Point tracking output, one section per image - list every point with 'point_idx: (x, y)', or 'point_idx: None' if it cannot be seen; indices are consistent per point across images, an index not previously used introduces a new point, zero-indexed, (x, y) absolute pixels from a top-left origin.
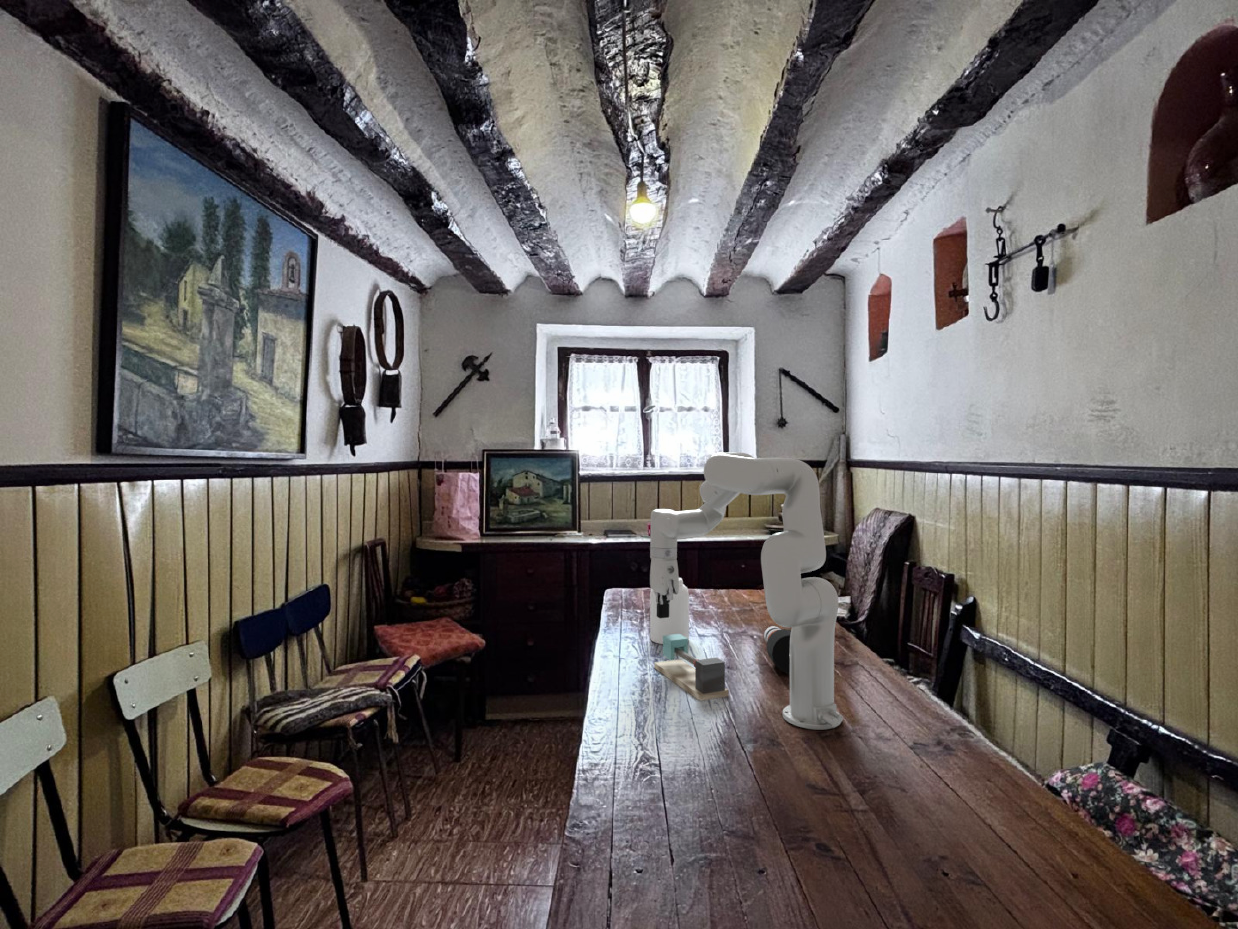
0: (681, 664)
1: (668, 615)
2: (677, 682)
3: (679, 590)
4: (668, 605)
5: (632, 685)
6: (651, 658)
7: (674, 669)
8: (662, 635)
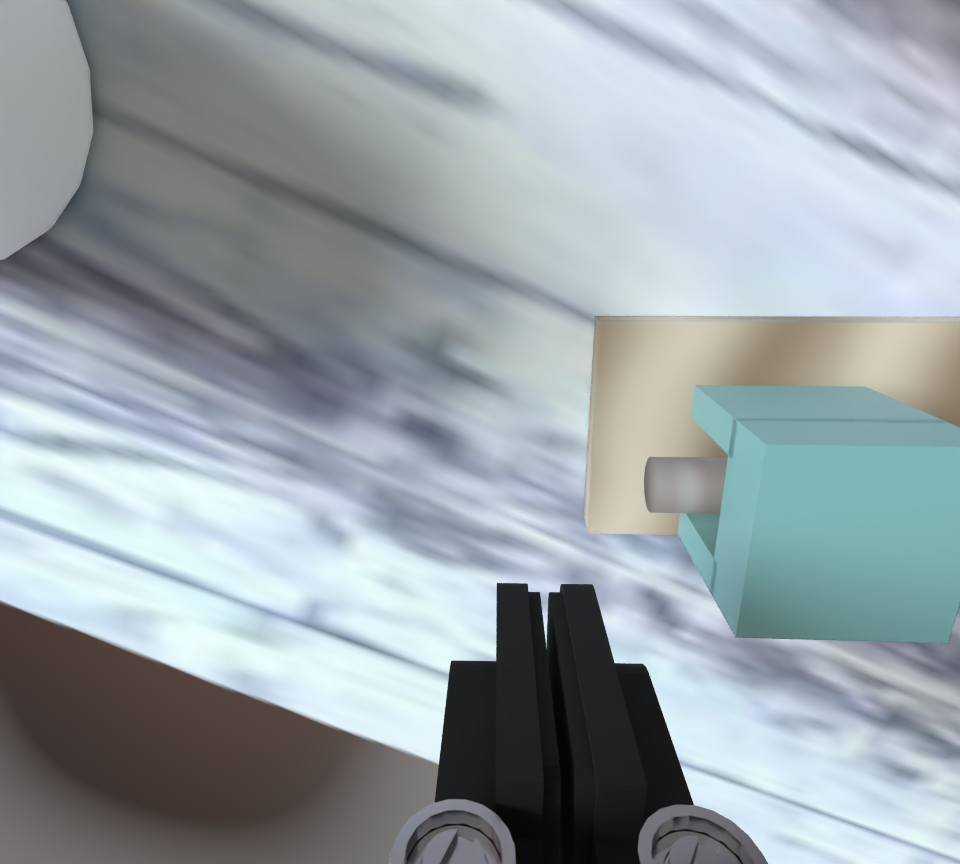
0: (723, 373)
1: (594, 608)
2: None
3: None
4: (633, 760)
5: (794, 734)
6: (379, 446)
7: None
8: (6, 215)
